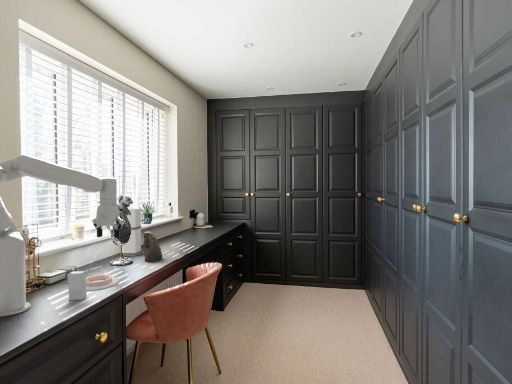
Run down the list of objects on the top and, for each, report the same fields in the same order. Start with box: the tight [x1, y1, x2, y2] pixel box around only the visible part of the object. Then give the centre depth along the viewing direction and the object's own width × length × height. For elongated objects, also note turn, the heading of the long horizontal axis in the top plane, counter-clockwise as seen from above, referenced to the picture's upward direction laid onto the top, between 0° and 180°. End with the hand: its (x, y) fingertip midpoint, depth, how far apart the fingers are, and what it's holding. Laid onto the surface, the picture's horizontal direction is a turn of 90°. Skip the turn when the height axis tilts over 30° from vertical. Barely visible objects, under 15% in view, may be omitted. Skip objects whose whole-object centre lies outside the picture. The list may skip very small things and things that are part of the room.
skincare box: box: [67, 270, 87, 301], centre depth 136 cm, size 6×4×12 cm
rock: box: [142, 230, 164, 263], centre depth 209 cm, size 13×13×20 cm
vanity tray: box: [86, 274, 120, 292], centre depth 157 cm, size 20×20×3 cm
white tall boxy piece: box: [122, 207, 142, 257], centre depth 227 cm, size 11×11×35 cm
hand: (108, 237), depth 147 cm, fingers open, 9 cm apart
